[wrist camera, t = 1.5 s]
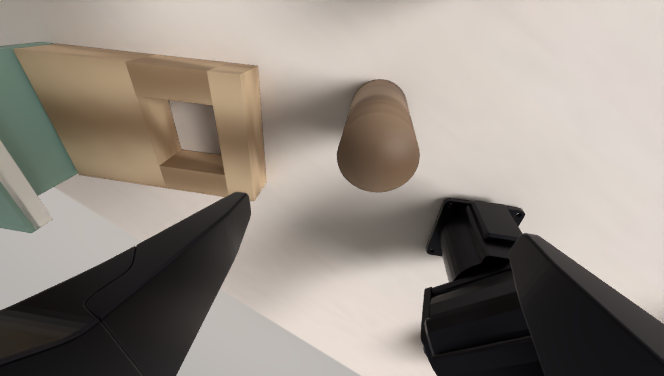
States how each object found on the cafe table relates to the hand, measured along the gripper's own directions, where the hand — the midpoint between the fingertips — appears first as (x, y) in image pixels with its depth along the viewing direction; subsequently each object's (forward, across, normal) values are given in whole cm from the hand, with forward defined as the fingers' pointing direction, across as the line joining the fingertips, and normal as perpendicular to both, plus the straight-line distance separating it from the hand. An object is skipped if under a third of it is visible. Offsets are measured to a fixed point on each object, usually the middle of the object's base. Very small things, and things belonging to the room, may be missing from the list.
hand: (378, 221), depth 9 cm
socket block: (+13, +17, +4) cm, 22 cm away
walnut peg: (+13, 0, +1) cm, 13 cm away
